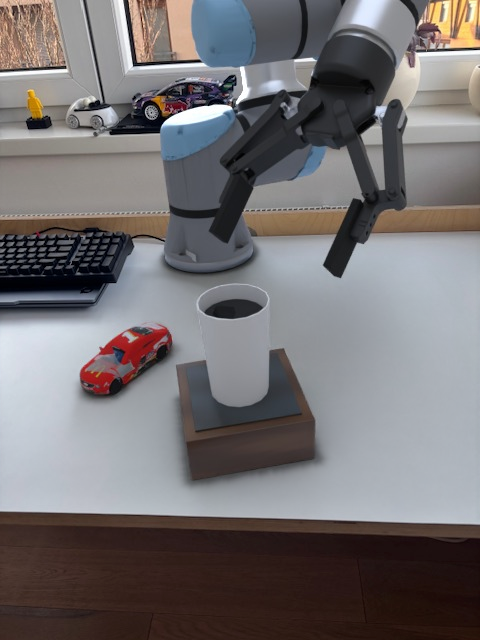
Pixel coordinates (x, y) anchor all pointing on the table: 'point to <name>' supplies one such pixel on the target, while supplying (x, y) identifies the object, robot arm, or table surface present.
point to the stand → (245, 422)
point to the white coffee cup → (236, 342)
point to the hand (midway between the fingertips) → (270, 253)
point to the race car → (125, 358)
